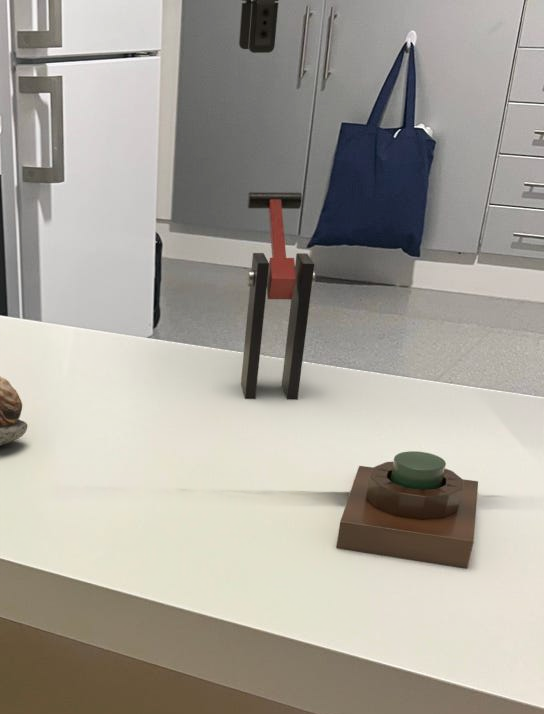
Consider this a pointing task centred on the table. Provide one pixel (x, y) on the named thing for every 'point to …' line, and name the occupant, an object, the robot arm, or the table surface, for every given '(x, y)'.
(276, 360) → the table surface
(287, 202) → the lever
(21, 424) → the bison figurine
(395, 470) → the button
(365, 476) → the button block
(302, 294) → the bracket
